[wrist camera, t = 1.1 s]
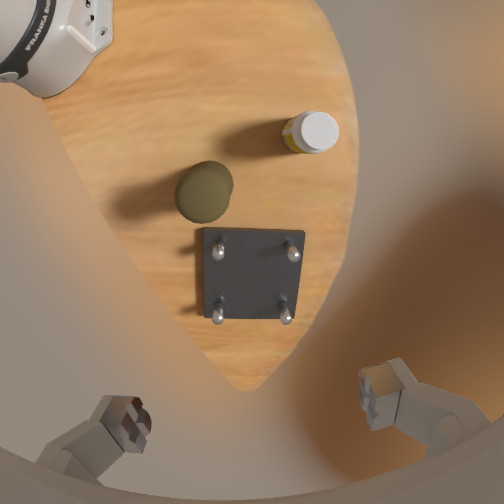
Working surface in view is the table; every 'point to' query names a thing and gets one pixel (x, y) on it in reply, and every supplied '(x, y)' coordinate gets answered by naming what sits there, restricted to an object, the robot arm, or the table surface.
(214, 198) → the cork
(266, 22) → the table surface
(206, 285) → the standoff chassis
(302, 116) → the supplement bottle
